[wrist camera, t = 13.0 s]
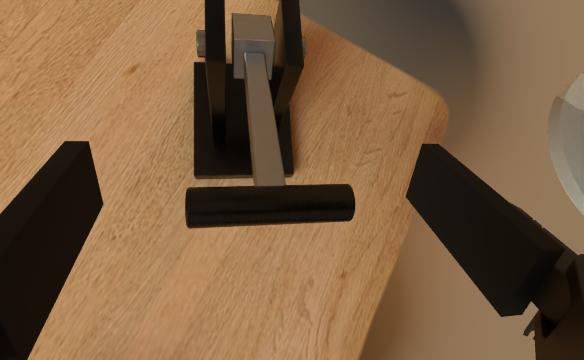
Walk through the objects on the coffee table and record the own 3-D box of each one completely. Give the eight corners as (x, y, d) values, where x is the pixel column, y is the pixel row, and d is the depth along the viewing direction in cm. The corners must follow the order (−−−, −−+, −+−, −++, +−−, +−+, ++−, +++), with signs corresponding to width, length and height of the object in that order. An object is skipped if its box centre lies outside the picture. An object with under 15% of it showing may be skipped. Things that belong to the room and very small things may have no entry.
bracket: (291, 177, 30) (337, 116, 17) (195, 179, 28) (172, 114, 16) (284, 73, 32) (321, -46, 20) (195, 69, 30) (174, -62, 18)
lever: (345, 234, 14) (362, 199, 12) (189, 242, 13) (182, 204, 11) (296, 55, 22) (302, 17, 20) (199, 50, 21) (196, 9, 19)
